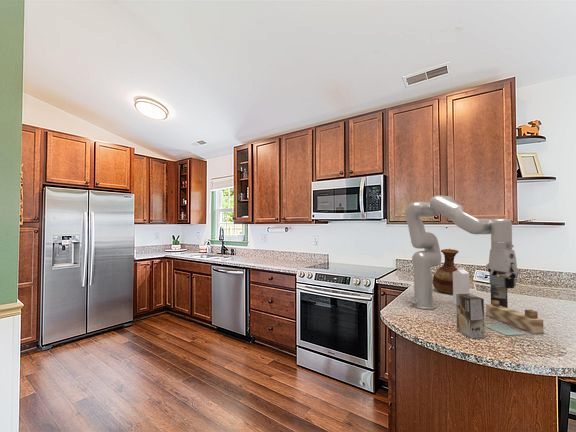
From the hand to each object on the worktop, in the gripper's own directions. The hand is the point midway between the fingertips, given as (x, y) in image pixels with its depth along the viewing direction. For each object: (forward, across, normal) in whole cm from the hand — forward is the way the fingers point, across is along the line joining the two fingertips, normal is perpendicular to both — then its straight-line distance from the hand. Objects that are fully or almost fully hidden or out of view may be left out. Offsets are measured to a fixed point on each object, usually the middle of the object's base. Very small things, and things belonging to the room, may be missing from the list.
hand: (502, 285), depth 125 cm
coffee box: (+20, -2, +18) cm, 27 cm away
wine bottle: (+20, +21, -19) cm, 34 cm away
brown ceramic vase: (+20, +68, -26) cm, 75 cm away
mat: (+19, 0, 0) cm, 19 cm away
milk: (+20, +38, -11) cm, 44 cm away
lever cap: (0, 0, 0) cm, 0 cm away
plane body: (+19, +6, -11) cm, 23 cm away
